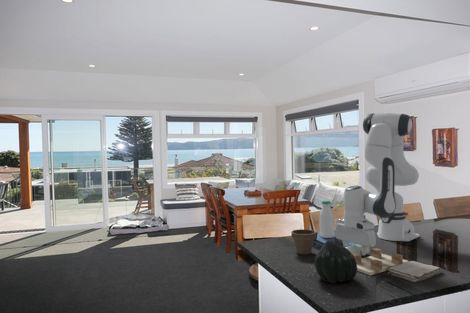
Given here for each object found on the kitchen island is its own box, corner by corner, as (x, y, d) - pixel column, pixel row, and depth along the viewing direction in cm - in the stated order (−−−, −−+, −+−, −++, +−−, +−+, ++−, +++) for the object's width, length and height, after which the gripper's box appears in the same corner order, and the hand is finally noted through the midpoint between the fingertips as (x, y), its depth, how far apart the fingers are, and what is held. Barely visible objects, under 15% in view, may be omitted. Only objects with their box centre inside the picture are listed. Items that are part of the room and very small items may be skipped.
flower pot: (295, 248, 170) (295, 228, 170) (318, 250, 165) (318, 229, 165) (288, 254, 160) (288, 233, 160) (313, 257, 155) (312, 235, 155)
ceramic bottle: (360, 252, 161) (360, 241, 161) (369, 255, 157) (369, 244, 157) (333, 259, 152) (332, 248, 152) (341, 262, 148) (341, 251, 148)
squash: (366, 273, 119) (352, 234, 129) (324, 277, 118) (313, 237, 128) (354, 288, 130) (342, 251, 140) (316, 292, 129) (306, 254, 139)
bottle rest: (381, 255, 155) (381, 246, 155) (408, 263, 144) (408, 253, 144) (344, 266, 143) (343, 256, 143) (370, 275, 132) (370, 264, 132)
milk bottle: (334, 238, 186) (334, 201, 186) (320, 238, 188) (319, 201, 187) (333, 235, 194) (332, 199, 193) (319, 234, 195) (318, 199, 195)
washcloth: (385, 274, 133) (385, 267, 133) (412, 265, 143) (411, 258, 143) (416, 284, 123) (416, 276, 123) (442, 273, 133) (441, 265, 133)
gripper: (331, 219, 163) (332, 248, 163) (368, 227, 145) (368, 259, 145) (341, 217, 166) (341, 246, 166) (377, 225, 148) (378, 257, 148)
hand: (354, 252), depth 156 cm, fingers open, 8 cm apart
